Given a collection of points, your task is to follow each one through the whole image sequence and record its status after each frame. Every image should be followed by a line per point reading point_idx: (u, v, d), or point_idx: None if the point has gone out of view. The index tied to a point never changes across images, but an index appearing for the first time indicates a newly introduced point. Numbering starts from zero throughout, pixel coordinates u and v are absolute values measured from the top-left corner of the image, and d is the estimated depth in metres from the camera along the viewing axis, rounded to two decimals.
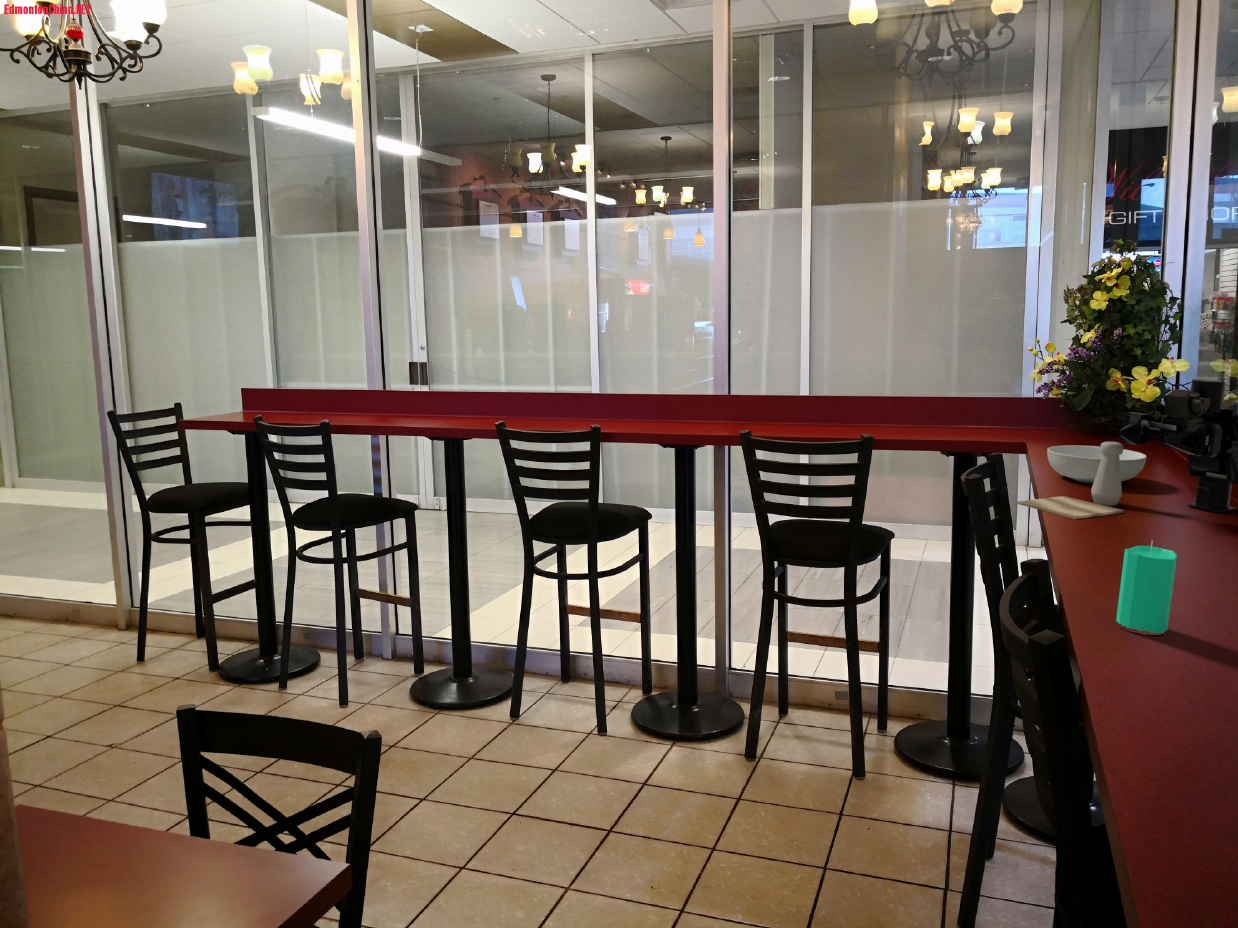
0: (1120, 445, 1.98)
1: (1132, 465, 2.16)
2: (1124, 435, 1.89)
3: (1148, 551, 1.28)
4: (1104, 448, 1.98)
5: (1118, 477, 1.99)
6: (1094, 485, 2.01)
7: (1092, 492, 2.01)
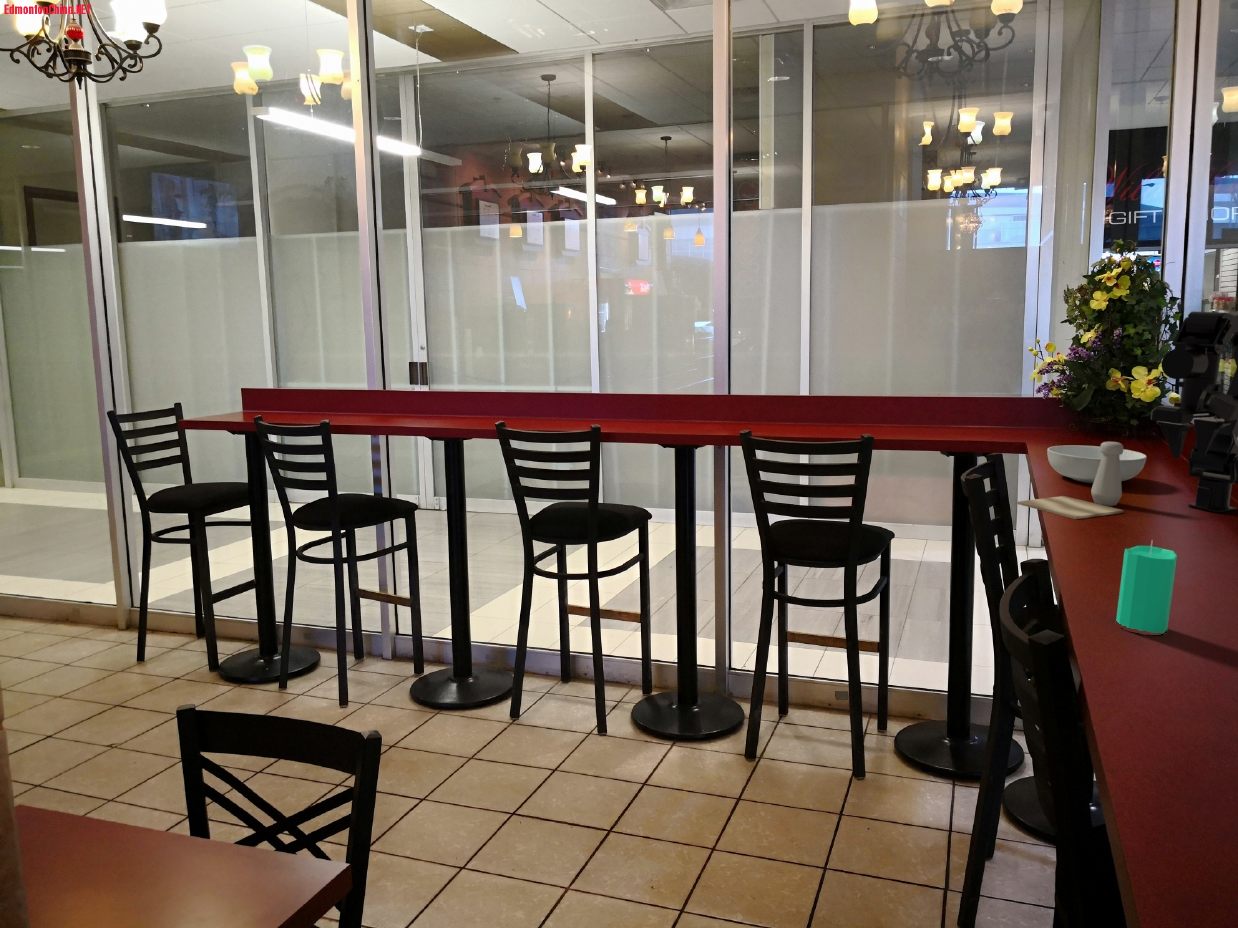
0: (1120, 445, 1.98)
1: (1132, 465, 2.16)
2: None
3: (1148, 551, 1.28)
4: (1104, 448, 1.98)
5: (1118, 477, 1.99)
6: (1094, 485, 2.01)
7: (1092, 492, 2.01)
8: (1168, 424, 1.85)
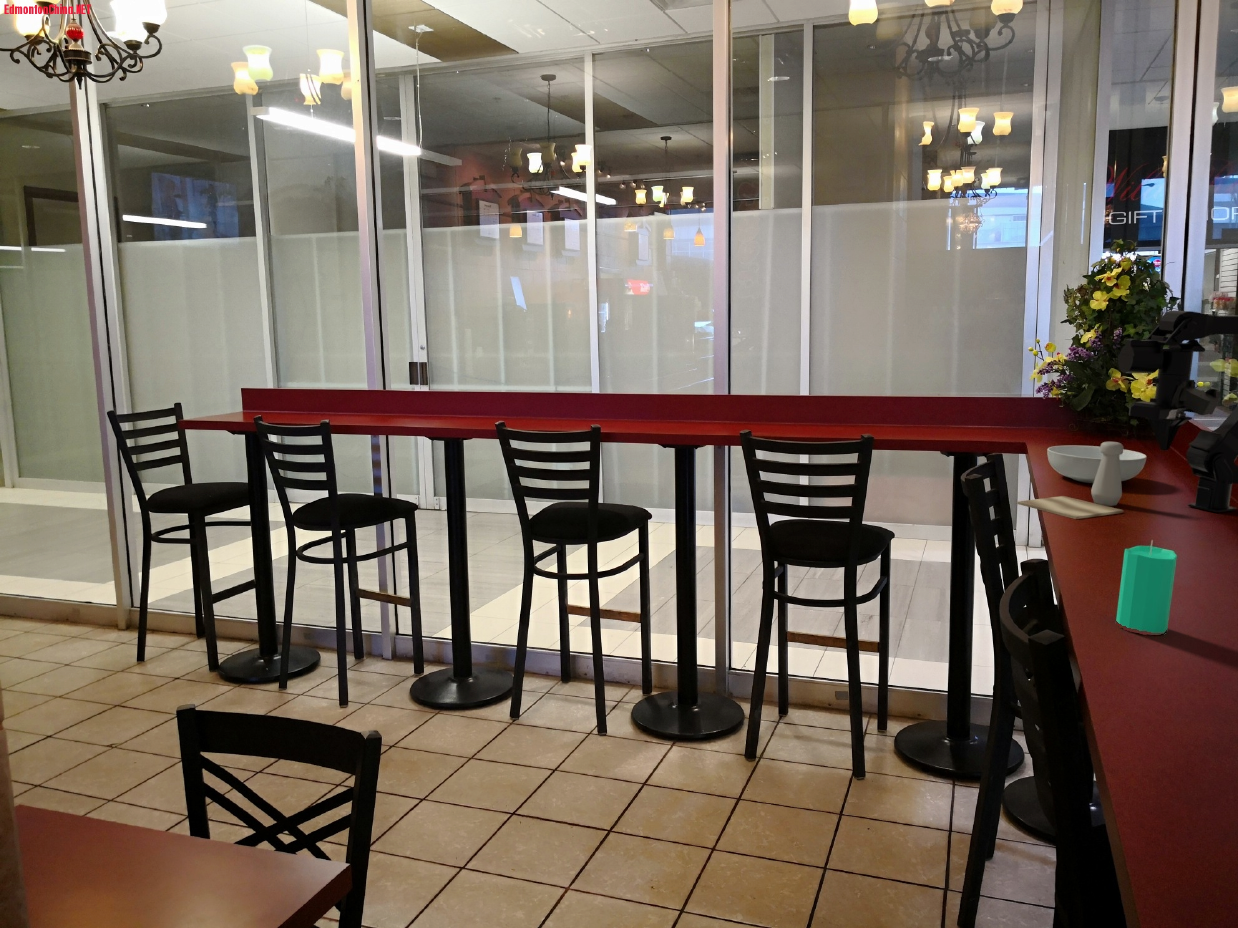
0: (1120, 445, 1.98)
1: (1132, 465, 2.16)
2: None
3: (1148, 551, 1.28)
4: (1105, 448, 1.98)
5: (1118, 477, 1.99)
6: (1094, 485, 2.01)
7: (1092, 492, 2.01)
8: (1156, 418, 1.94)
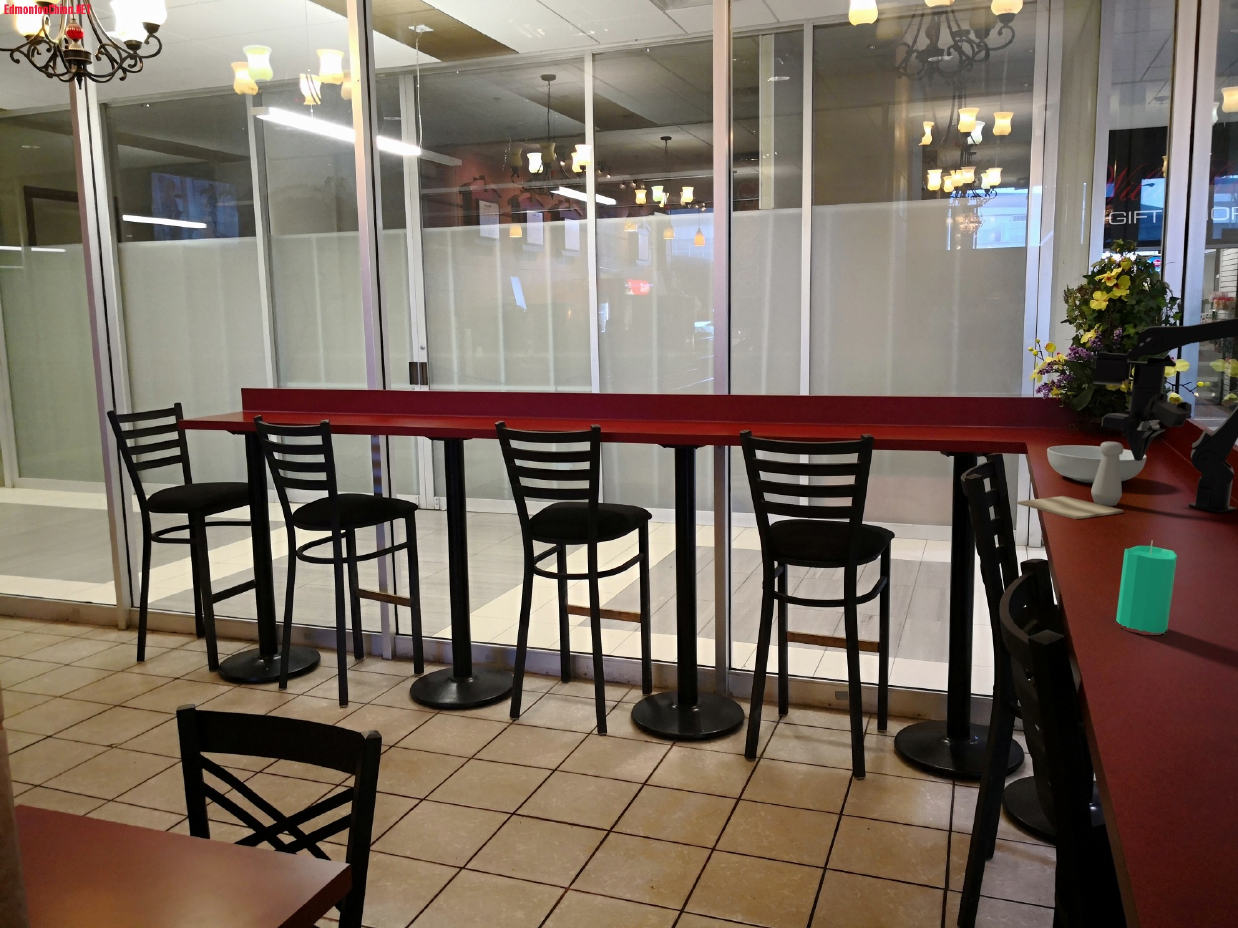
0: (1120, 445, 1.98)
1: (1132, 465, 2.16)
2: None
3: (1148, 551, 1.28)
4: (1104, 448, 1.98)
5: (1118, 477, 1.99)
6: (1094, 485, 2.01)
7: (1092, 492, 2.01)
8: (1129, 429, 2.02)
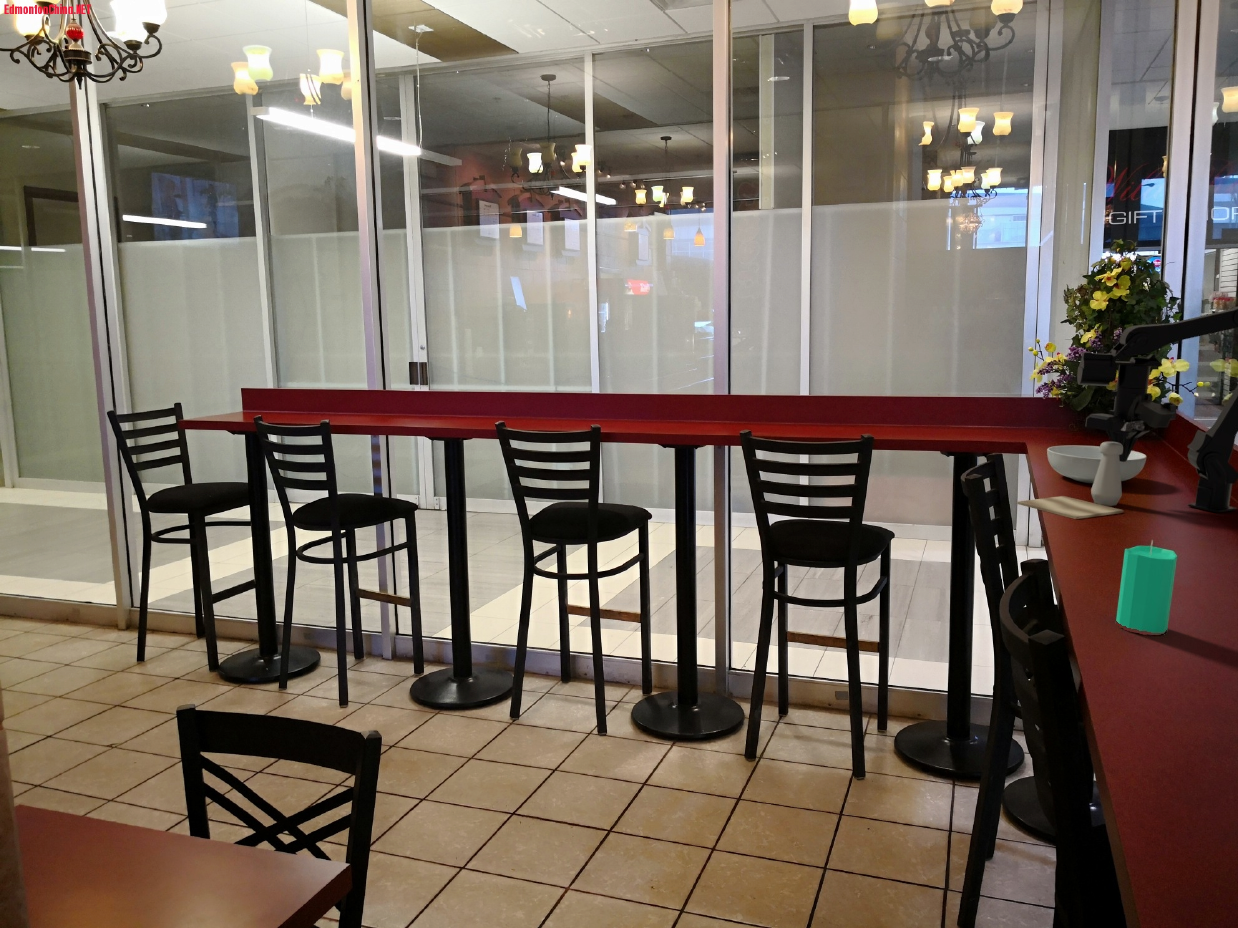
0: (1120, 445, 1.98)
1: (1132, 465, 2.16)
2: None
3: (1148, 551, 1.28)
4: (1104, 448, 1.98)
5: (1118, 477, 1.99)
6: (1094, 485, 2.01)
7: (1092, 492, 2.01)
8: (1113, 430, 1.99)
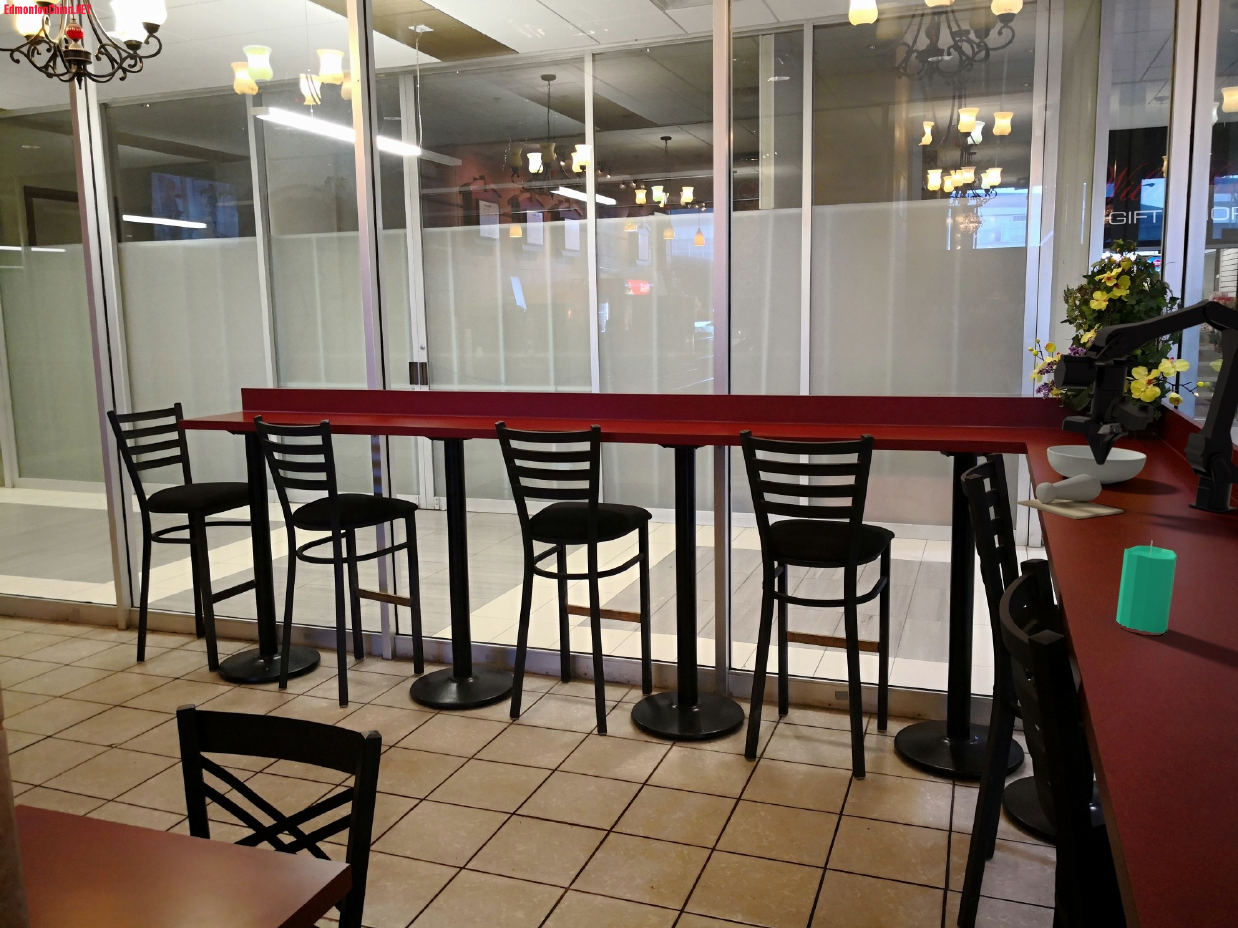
0: (1047, 491, 1.96)
1: (1132, 465, 2.16)
2: None
3: (1148, 551, 1.28)
4: None
5: (1076, 486, 1.97)
6: None
7: None
8: None
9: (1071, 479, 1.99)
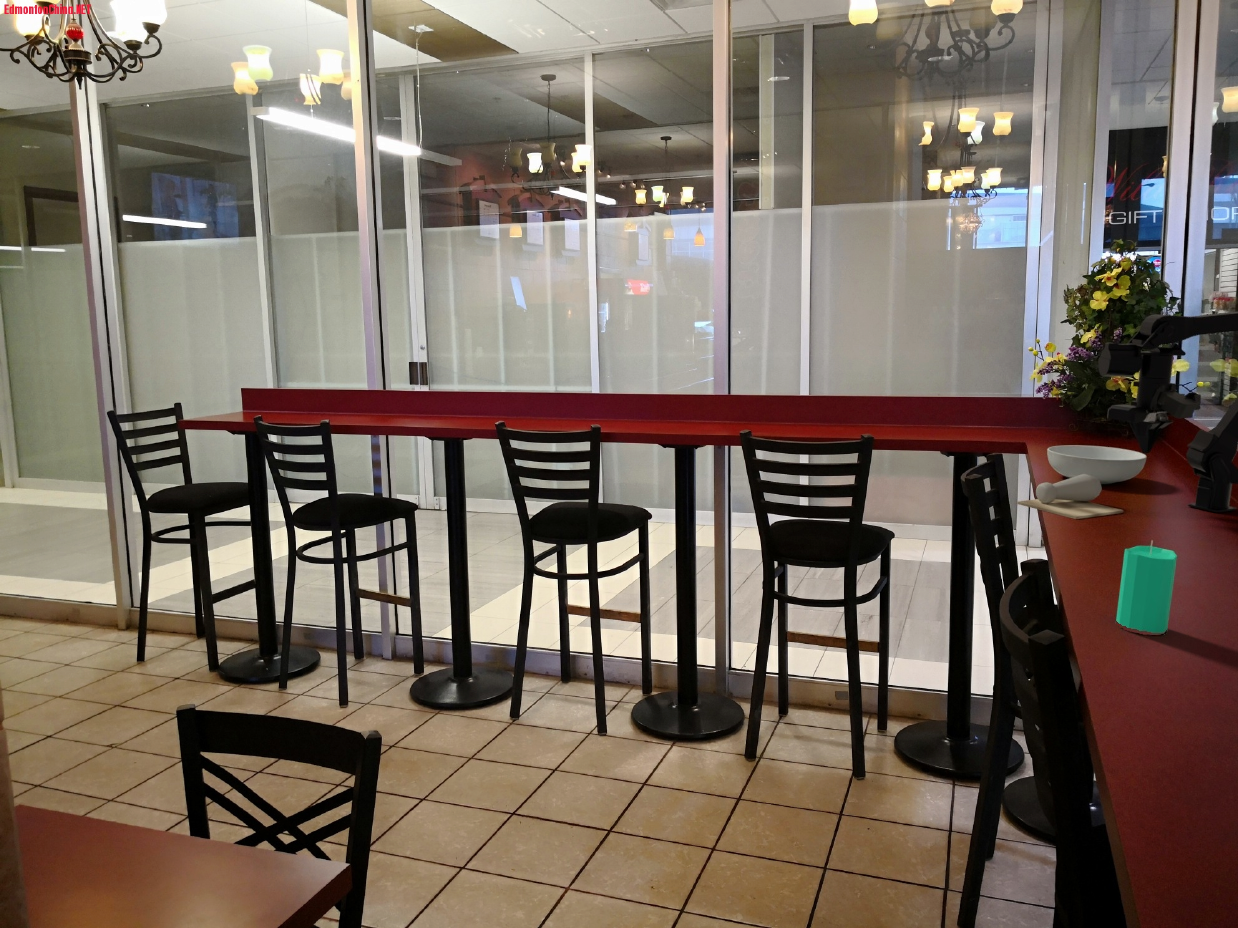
0: (1047, 491, 1.96)
1: (1132, 465, 2.16)
2: None
3: (1148, 551, 1.28)
4: None
5: (1076, 487, 1.97)
6: None
7: None
8: (1136, 421, 1.96)
9: (1071, 479, 1.99)
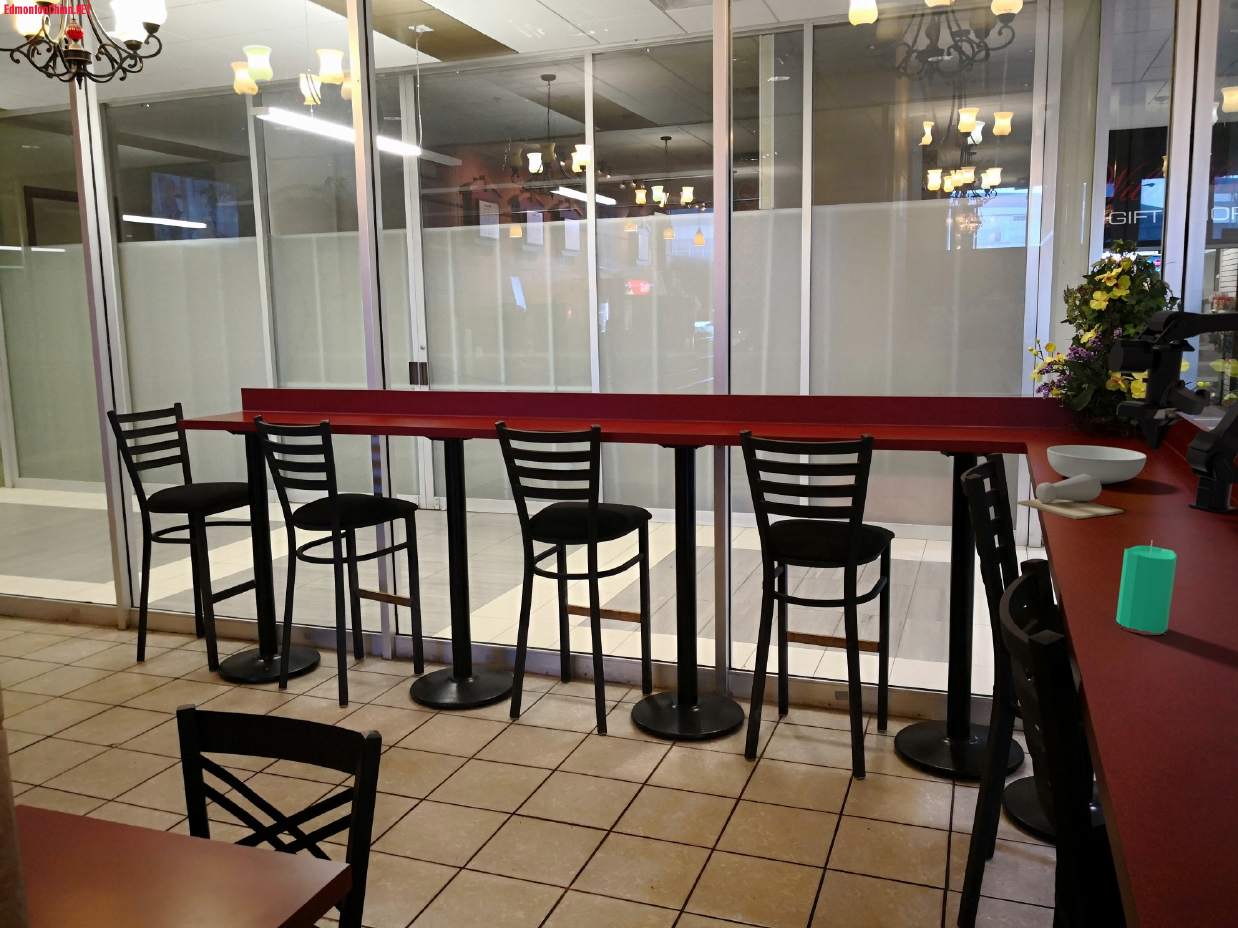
0: (1047, 491, 1.96)
1: (1132, 465, 2.16)
2: None
3: (1148, 551, 1.28)
4: None
5: (1076, 487, 1.97)
6: None
7: None
8: None
9: (1071, 479, 1.99)
